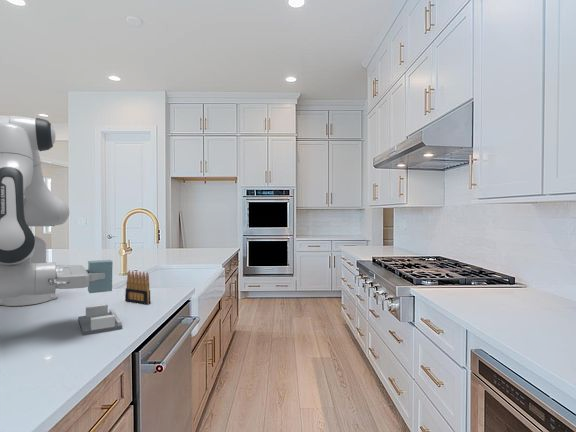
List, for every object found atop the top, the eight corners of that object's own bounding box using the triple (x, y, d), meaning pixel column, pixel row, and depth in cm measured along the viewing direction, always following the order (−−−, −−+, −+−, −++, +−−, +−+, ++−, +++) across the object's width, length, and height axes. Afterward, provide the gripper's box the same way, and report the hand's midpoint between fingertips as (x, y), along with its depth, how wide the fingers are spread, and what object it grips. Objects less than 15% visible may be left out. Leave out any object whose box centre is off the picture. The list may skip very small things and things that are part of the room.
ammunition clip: (150, 303, 129) (151, 271, 129) (146, 304, 127) (147, 272, 127) (128, 300, 132) (129, 269, 132) (124, 301, 131) (125, 270, 131)
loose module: (87, 290, 105) (88, 261, 105) (109, 288, 108) (110, 259, 108) (89, 293, 101) (89, 262, 101) (112, 291, 104) (112, 261, 104)
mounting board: (78, 319, 108) (78, 307, 108) (113, 314, 114) (113, 302, 114) (82, 335, 95) (83, 320, 95) (122, 328, 101) (122, 315, 101)
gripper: (48, 272, 88) (108, 268, 96) (48, 262, 105) (99, 259, 113) (48, 297, 88) (108, 290, 96) (48, 283, 105) (99, 278, 113)
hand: (103, 274), depth 105 cm, fingers closed on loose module, 4 cm apart
